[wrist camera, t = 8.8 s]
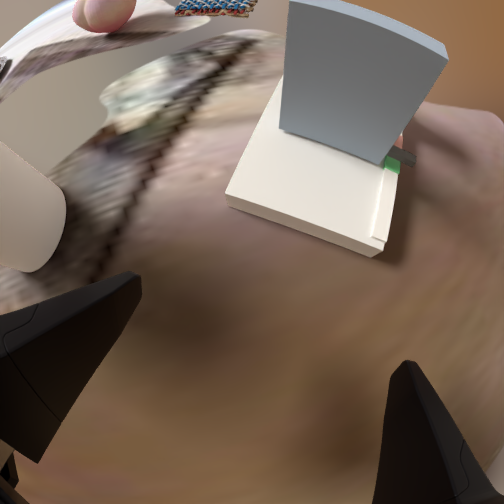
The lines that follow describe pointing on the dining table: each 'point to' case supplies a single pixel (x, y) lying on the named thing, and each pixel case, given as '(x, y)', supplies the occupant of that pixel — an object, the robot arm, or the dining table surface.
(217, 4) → the woven mat
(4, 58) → the food plate
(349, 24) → the grey rounded panel
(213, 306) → the dining table surface
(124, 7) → the decorative fruit
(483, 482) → the robot arm
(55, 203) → the cup
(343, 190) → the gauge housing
